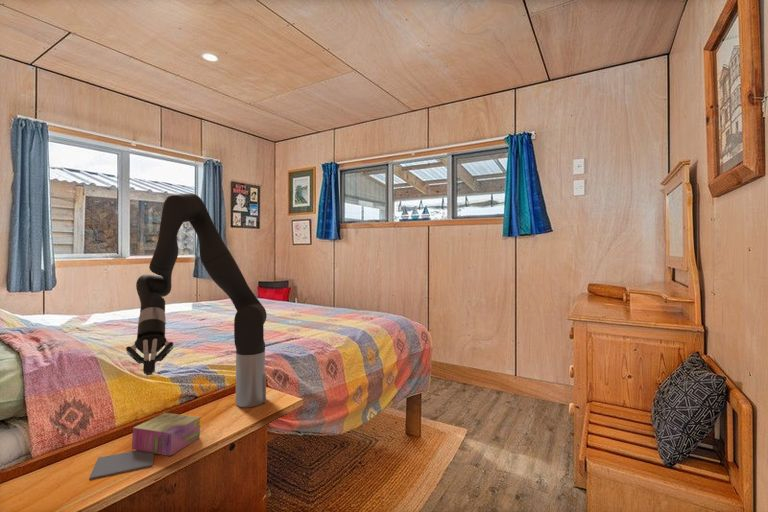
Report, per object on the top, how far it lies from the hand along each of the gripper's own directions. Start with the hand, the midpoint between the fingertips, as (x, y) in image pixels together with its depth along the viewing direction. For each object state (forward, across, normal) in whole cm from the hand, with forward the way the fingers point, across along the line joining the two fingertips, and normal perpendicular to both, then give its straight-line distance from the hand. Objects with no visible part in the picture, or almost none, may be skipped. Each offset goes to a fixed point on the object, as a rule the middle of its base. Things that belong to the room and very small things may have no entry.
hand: (149, 373), depth 110 cm
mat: (+25, -3, -4) cm, 26 cm away
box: (+17, +1, 0) cm, 17 cm away
